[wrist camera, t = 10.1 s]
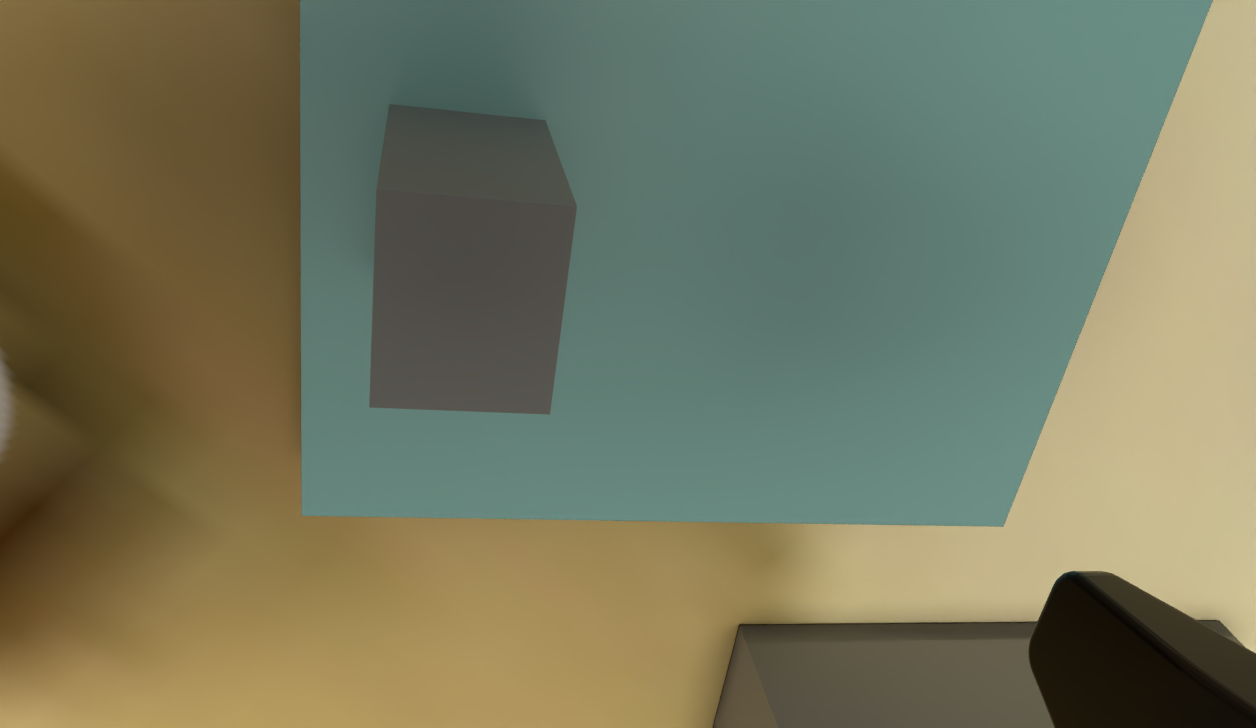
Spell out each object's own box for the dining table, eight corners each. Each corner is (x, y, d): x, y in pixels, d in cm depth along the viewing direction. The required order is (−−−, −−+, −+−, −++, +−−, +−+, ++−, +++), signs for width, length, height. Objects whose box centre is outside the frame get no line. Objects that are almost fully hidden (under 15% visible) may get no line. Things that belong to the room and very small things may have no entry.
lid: (1174, -115, 18) (1482, -85, 12) (961, 474, 23) (1111, 661, 18) (314, -271, 14) (248, -319, 9) (312, 455, 20) (271, 676, 15)
